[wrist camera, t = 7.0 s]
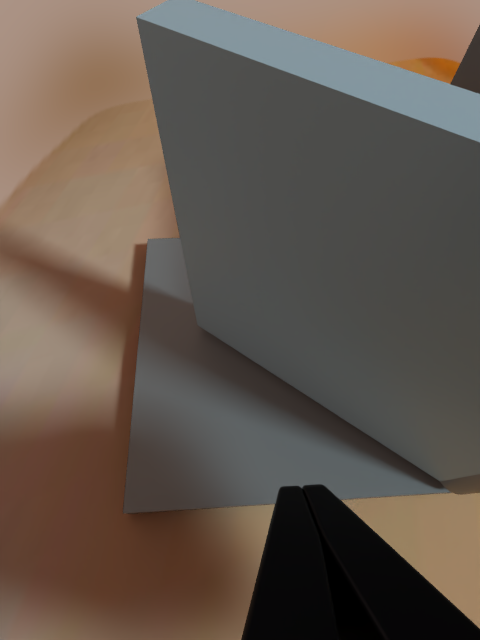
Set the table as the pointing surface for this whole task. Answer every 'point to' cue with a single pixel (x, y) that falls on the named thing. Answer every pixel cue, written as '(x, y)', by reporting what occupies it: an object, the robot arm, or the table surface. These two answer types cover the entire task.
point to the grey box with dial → (240, 410)
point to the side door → (329, 223)
